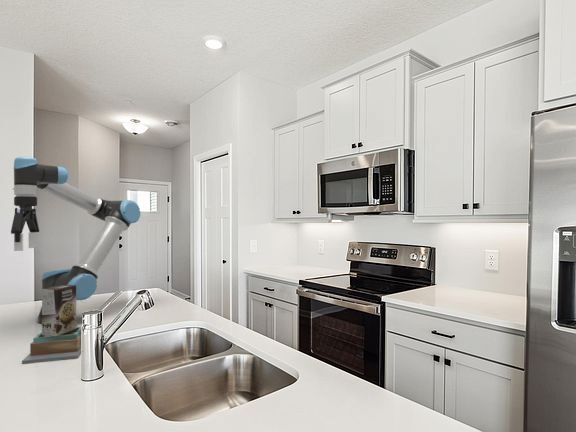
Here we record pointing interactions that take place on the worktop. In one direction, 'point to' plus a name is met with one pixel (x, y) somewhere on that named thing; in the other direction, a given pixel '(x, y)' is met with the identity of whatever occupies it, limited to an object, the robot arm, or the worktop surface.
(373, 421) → the worktop surface
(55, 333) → the coffee box
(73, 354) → the baseplate
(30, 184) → the robot arm
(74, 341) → the riser
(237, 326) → the worktop surface
